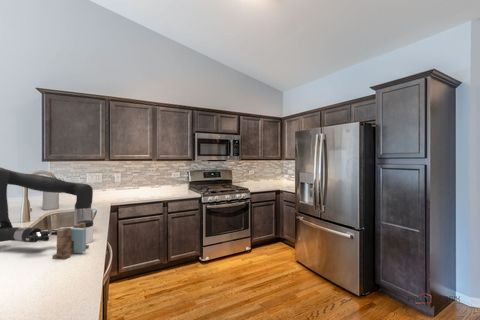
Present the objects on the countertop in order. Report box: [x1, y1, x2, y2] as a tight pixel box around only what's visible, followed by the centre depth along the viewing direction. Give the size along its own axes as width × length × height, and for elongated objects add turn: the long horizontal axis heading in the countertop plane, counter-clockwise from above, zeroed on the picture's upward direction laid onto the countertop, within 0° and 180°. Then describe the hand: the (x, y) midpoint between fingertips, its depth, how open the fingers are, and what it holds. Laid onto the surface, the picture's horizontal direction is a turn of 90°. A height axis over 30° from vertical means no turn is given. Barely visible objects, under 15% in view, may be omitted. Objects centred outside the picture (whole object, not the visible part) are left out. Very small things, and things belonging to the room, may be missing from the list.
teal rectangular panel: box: [57, 226, 87, 254], centre depth 127 cm, size 14×2×12 cm, turn 84°
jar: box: [77, 219, 94, 244], centre depth 145 cm, size 9×8×12 cm
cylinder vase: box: [42, 191, 60, 211], centre depth 235 cm, size 12×12×25 cm
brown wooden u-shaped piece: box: [51, 223, 90, 260], centre depth 127 cm, size 16×7×14 cm, turn 174°
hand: (55, 236), depth 128 cm, fingers open, 8 cm apart
